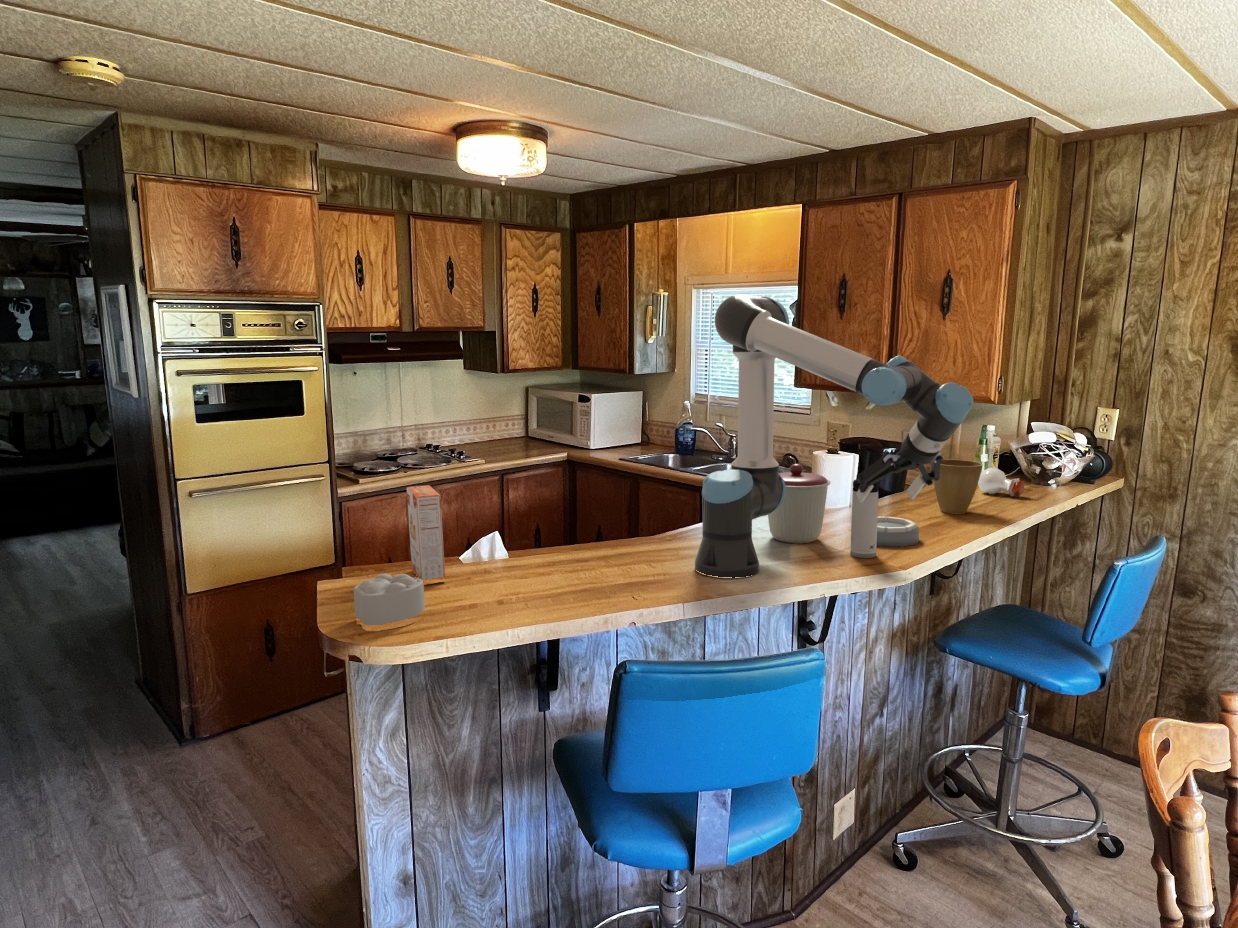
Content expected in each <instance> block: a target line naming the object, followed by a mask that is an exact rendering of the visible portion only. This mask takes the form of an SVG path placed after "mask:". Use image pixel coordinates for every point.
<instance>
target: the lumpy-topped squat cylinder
mask: <svg viewBox="0 0 1238 928" xmlns="http://www.w3.org/2000/svg"><path fill="white" fill-rule="evenodd" d="M353 599H354V600H353V601H354V616H355V617H356V618H358V619H360V620H361V621H362V623H363V624H365V625H383V624H387V623H392V622H397V621H401V620H405V619H410V618H413V617H415V616H417V615H419V614H420V613H422V612H423V611H424V610H425V611H426V602H425V586H424V583H423V580H422V579H419V578H417V577H416V576H413V577H412V576H410V575H408V574H406V573H398V574H396V575H394V576H392V575H391V574H389V573H379V574H378V575H376V576H375V577H374V578H371V579H366V580H364V581H362V582H360V583H359V584H357V585H355V586H354V587H353ZM356 618H355V619H356Z"/></svg>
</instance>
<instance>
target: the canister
mask: <svg viewBox="0 0 1238 928" xmlns="http://www.w3.org/2000/svg"><path fill="white" fill-rule="evenodd" d="M779 474H780V476H781V477H782V478H783V480H784V482H785V487H786V492H785V497H784V500H783V502H782V503H781V505H780V506H779V507H778V508H777V509H776V510H774V511H773V512H772V513H770V514H768V515H767V518H768V526H769V531H770V534H771V536H772V537H773V539H775V540H777V541H780V542H783V543H790V544H806V543H807V544H808V543H812V542H815V541H817V540H818V539H819V537H820V536H821V533H822V529H823V524H824V523H823V522H824V518H825V517H824V516H825V510H826V502H827V495H828V487H829V486H830V484H831V480H829V479H827V478H826V477H825V476H823V475H821V474H818V473H811V472H804V466H803V465H802V464H800V463H794V464H792V465H790V467H789V471H787V472H786V471H785V472H779Z"/></svg>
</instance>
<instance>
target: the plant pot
mask: <svg viewBox="0 0 1238 928" xmlns="http://www.w3.org/2000/svg"><path fill="white" fill-rule="evenodd" d="M983 466H984V465H983V463H982V462H979V461H973V460H966V459H965V460H964V459H943V460H942V461H941V463H940V479H939V480H937V481H935V480H932V482H933V486H934V492H935V496H936V500H937V503H938V506H939V509H940V512H942V511H943V512H942V513H945V512H946V513H945V514H950V513H953V514H954V515H964V514H966V513H967V511H968V510H969V507H970V506H971V503H972V501H973V498H974V496H975V493H976V491H977V488H978V486H979V485H978V482H979V478H980V474H981V473H982V469H983ZM953 514H952V515H953Z"/></svg>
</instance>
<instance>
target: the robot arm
mask: <svg viewBox="0 0 1238 928" xmlns="http://www.w3.org/2000/svg"><path fill="white" fill-rule="evenodd" d="M714 326H715V330H716V332H717V334H718V336H719V337H720V338H721V339H722V340H723V341H724V342H725V343H728V344H731V345H732V354H733V355H734V356H735V357H736V358H737V360H738V398H737V399H738V403H737V404H738V405H737V406H738V409H737V410H738V411H737V413H738V416H737V423H738V424H737V457H736V458H735V459H734V460H733V461H732V462H731V469H724V470H717V471H713V472H711V473H708V474H707V475H705V477H704V479H703V482H702V490H701V496H702V499H701V504H702V506H701V507H702V518H701V520H702V538H701V542H700V543H699V544H700V545H699V547H698V551H697V554H696V557H695V559H694V560H695V561H694V570H695V569H696V570H697V571H699V572H701V573H704V574H706V575H712V576H718V577H732V578H735V577H745V578H747V577H746V576H750V577H752V576H751V575H753V576H755V575H757V574H758V573H759V572H760V569H759V568H760V561H759V557H758V554H757V552H756V549H755V546H754V542H753V520H756V519H758V518H761V517H765V516H768V514H770V513H772V512H773V511H774V510H776V509H777V508H778V507H779V506H780V505H781V503H782V502H783V500H784V497H785V492H786V487H785V482H784V480H783V478H782V477H781V476H780V474H779V473H780V470H779V469H780V467H779V466H780V464H779V462H778V461H777V460H776V459H775V458H774V410H775V409H774V408H775V407H774V405H775V404H774V403H775V402H774V401H775V361H776V359H778V360H780V361H783V362H784V363H788V364H790V365H793V366H795V367H798V368H800V369H802V370H804V371H807V372H809V373H811V374H813V375H816V376H818V377H821V378H822V379H824V380H825V379H826V380H827V381H830V382H832V383H835V384H837V385H839V386H841V387H844V388H847V389H848V390H850V391H853V392H855V393H856V394H859V395H861V396H864V398H865V399H866V400H867V401H868V402H870V404H873V405H876V406H882V407H883V406H884V407H885V406H887V407H888V406H893V405H895V404H897V403H898V404H899V403H903V404H904V405H906V406H907V407H908V408H909V409H911V410H912V411H914V413H916V414H917V415H919V418H917V420H916V422H915V423H914V425H913V426H912V428H910V431H909V433H907V435H906V436H905V438H904V439H903V441H902V442H901V446H900V450H899V451H898V452H897V453H896V454H891V452H890V451H886V452H884V453H883V455H881V457H880V458H879V459H877V460H875V462H874V463H872V464H871V465H869V466H868V467H866V468H865V469H864V470H862V471H861V472H860V473H858V474H857V479H859V481H860V483H861V484H860V485H859V490H858V491H857V493H856V495H857V497H858V499H859V502H860V503H862V502H863V501H864V500H865V498H866V497H867V496H868V494H869V493H870V491H871V490H872V488H873V487H874V486H873V484H874V483H876V482H878V483H879V482H881V481H882V480H884V479H885V478H887V477H889V476H891V475H893V474H899V473H901V472H902V471H908V470H909V471H914V470H916V469H918V470H919V472H920V474H918V475H917V476H916V478H915V479H914V480H913V481H912V483H911V484H910V485H909V487H907V489H906V493H907V494H908V496H909V498H910V499H909V500H915V498H916V497H917V495H919V493H920V492H921V491H922V490H923V489H924V488H925V487H926V485H927V486H931V485H934V482H933V480H935V481H937V480H939V479H940V463H941V461H942V460H944V457H943V455H942V454H941V449H942V448H944V445H945V444H946V443H947V441H948V440H949V439H950V438H951V436H952V435H954V433H955V432H956V430H957V429H958V428H959V426H960V425H961V424H962V423H963V422H964V420H965V419H966V418H967V416H968V414H969V412H970V411H971V410H972V407H973V406H974V397H973V394H972V393H971V391H970V390H969V389H967V388H966V387H965V386H964V385H958V383H955V382H946V383H944V384H940V383H938V382H937V381H936V380H934V379H933V378H932V377H930V376H929V375H928V374H927V373H926V372H924V371H923V370H922V369H921V368H919V367H918V366H917V365H915V363H914V362H912V361H910V360H908V359H907V358H905V357H904V356H902V355H897V356H894V357H893V358H890V360H889V361H888V362H886V363H884V362H882V361H879V360H876V359H874V358H872V357H869V356H867V355H865V354H862V353H859V352H856V351H854V350H852V349H850V348H846V347H844V346H842V345H840V344H837V343H836V342H835V343H834V342H832V341H830V340H828V339H825V338H822V337H820V336H817V335H815V334H813V333H809V332H808V331H805V330H803V329H800V328H797V327H795V326H793V325H790V317H789V313H788V311H787V310H786V308H785V307H784V305H782V303H780V302H779V301H778V300H776V299H774V298H771V297H769V296H763V295H762V296H761V295H749V294H748V295H747V294H736V295H735V294H734V295H732V296H729V297H728V298H726V299H725V300H724V301H722V302H721V303H720V305H719V306H718V308H717V309H716V312H715V316H714ZM896 464H897V466H896ZM928 464H930V465H929V466H930V470H929V472H928V471H927V469H926V467H925V465H928ZM696 570H695V571H696Z"/></svg>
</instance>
